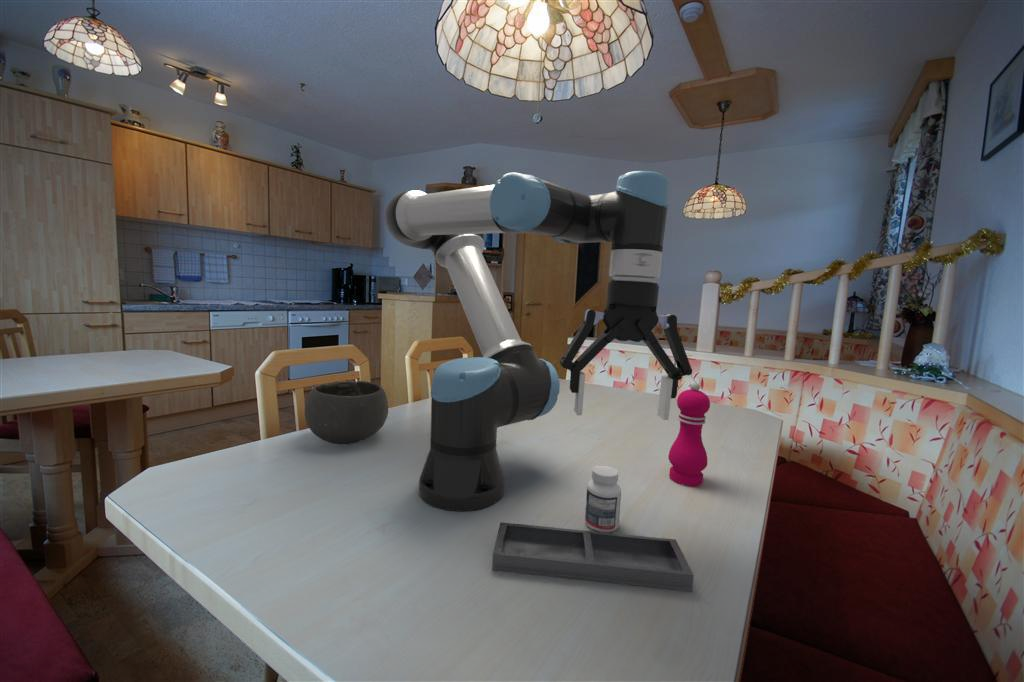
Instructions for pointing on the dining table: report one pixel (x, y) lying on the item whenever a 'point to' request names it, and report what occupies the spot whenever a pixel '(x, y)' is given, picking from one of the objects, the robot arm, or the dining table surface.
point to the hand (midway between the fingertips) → (620, 415)
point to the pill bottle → (603, 500)
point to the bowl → (346, 411)
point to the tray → (591, 556)
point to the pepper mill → (689, 438)
